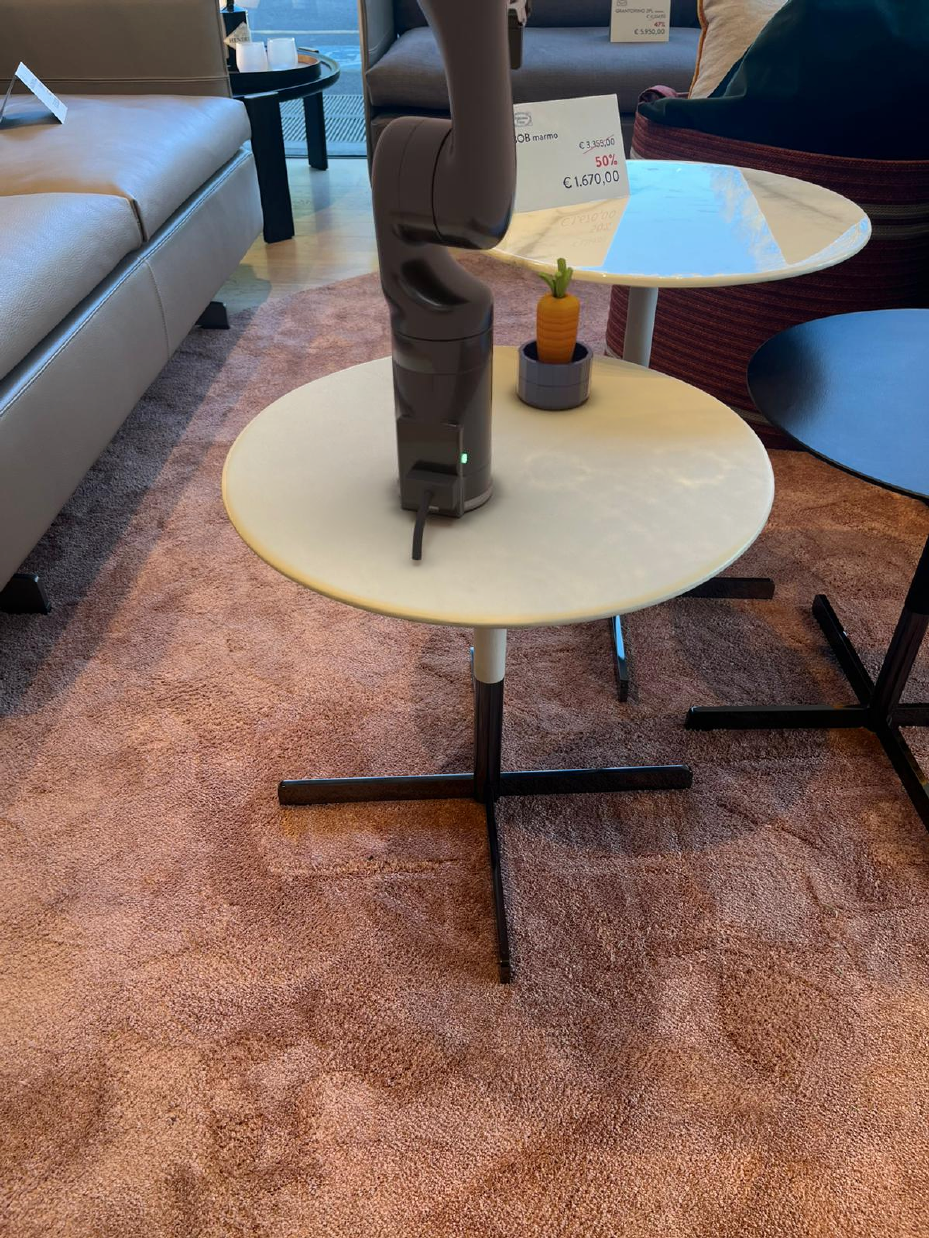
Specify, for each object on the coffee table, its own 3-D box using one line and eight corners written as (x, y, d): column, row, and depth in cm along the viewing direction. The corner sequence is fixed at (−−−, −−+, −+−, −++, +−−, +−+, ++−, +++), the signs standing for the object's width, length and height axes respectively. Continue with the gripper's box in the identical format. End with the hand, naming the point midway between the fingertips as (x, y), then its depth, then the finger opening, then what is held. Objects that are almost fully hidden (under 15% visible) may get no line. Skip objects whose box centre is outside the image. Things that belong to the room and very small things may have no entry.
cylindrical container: (580, 415, 106) (584, 370, 102) (508, 405, 108) (509, 360, 105) (595, 385, 112) (599, 341, 109) (527, 376, 114) (529, 333, 111)
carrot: (559, 403, 107) (568, 272, 98) (524, 392, 109) (529, 263, 100) (582, 389, 110) (592, 260, 101) (547, 378, 112) (554, 251, 103)
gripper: (486, -127, 91) (485, 64, 101) (436, -127, 80) (441, 86, 90) (560, -128, 89) (552, 67, 99) (519, -128, 78) (514, 90, 88)
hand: (499, 76), depth 95 cm, fingers open, 8 cm apart
